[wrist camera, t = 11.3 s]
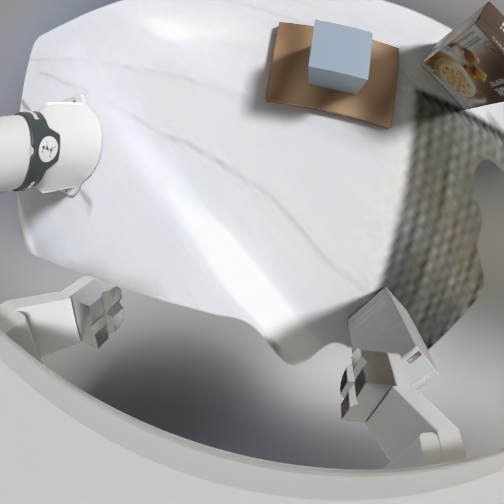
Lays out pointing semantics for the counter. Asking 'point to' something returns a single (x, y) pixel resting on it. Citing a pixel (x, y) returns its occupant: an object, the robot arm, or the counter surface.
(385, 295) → the skincare box
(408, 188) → the counter surface
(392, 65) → the post base
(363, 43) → the pale blue cube
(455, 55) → the coffee box
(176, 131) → the counter surface
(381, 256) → the counter surface
